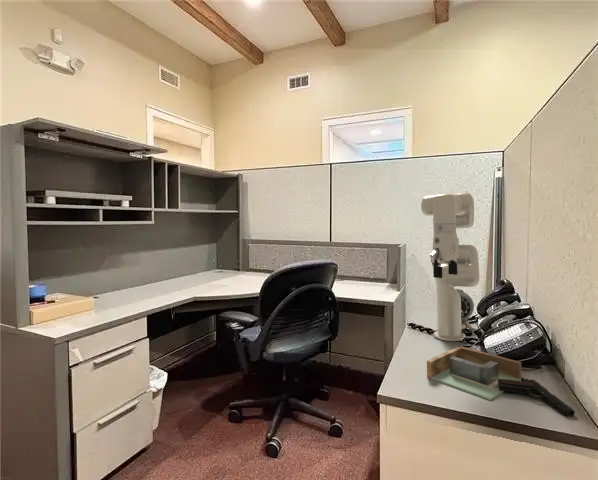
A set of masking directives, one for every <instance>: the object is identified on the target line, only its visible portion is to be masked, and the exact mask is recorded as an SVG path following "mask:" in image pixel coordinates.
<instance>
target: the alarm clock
mask: <svg viewBox="0 0 598 480" xmlns="http://www.w3.org/2000/svg"><path fill="white" fill-rule="evenodd" d="M455 289H456V290H457V292H458V293H459V294H460V297H461V325H462V324H464V325H465V328H469V329H473V330H474V328H473V326H472V325H470V324H471V323H470V322H468V321H467V319H469V318H470V317H471V316H472V315H473V313H474V310H475V303H474V300H473V299H472V297H471V296H470V295H469V294H468V293H466V292H465V291H464V290H463V289H460V288H455ZM469 323H470V324H469Z"/></svg>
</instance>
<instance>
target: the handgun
mask: <svg viewBox="0 0 598 480" xmlns="http://www.w3.org/2000/svg"><path fill="white" fill-rule="evenodd" d="M498 386H499V389H500V390H502V391H504V392H512V393H517V394H518V393H519V394H525V395H529V396H530V397H532V398H533V399H537V400H543V402H546V403H547V404H549V405H550V406H552V407H553V408H555V410H558V411H559V412H560V413H561V414H563V415H564V416H568V417H574V416H575V415H576V412H575V410H574V408H572V407H571V406H569V405H568V404H567V403H565V402H564V401H563V400H561V399H560V398H559V397H557V396H556V395H555V394H553V393H551V392H550V391H549V390H548V389H547V388H546V387H544V385H541V383H540V382H538V381H537V380H535V379H529V378H524V377H523V376H522V377H521V380H520V381H516V380H507V379H498Z"/></svg>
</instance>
